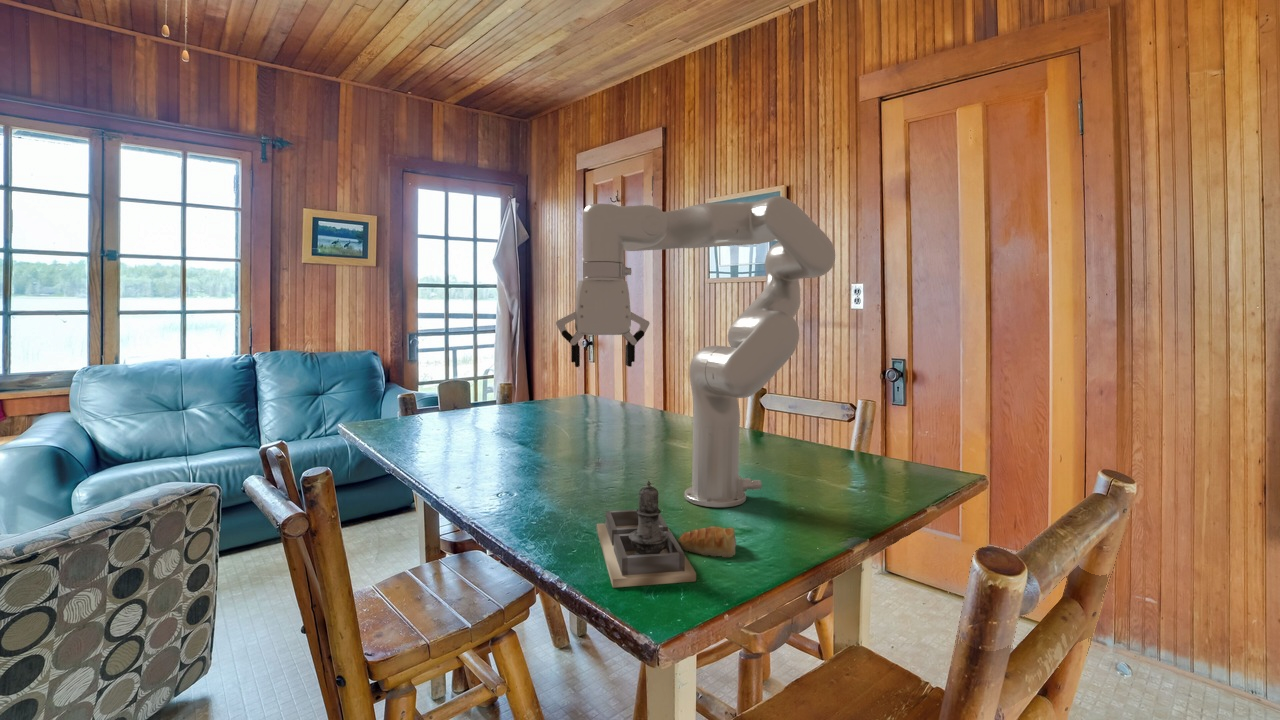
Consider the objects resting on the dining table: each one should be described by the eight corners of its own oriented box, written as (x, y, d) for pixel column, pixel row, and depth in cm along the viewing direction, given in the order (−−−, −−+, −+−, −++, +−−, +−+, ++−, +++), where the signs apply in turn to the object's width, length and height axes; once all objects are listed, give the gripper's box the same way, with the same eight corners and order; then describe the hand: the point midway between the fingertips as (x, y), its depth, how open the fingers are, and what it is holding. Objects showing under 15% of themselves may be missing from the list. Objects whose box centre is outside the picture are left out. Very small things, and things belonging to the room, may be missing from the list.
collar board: (663, 526, 106) (663, 506, 105) (696, 581, 84) (696, 556, 84) (596, 530, 103) (596, 509, 103) (612, 587, 82) (612, 561, 82)
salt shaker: (664, 569, 85) (665, 487, 84) (624, 565, 86) (625, 485, 85) (670, 553, 91) (671, 476, 90) (633, 549, 92) (633, 474, 91)
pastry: (676, 556, 93) (677, 532, 93) (680, 540, 100) (680, 518, 100) (736, 560, 92) (737, 536, 92) (736, 543, 99) (736, 521, 98)
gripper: (645, 275, 113) (645, 364, 115) (555, 274, 110) (555, 365, 112) (653, 273, 106) (652, 367, 107) (556, 271, 103) (556, 368, 104)
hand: (603, 366), depth 109 cm, fingers open, 9 cm apart
